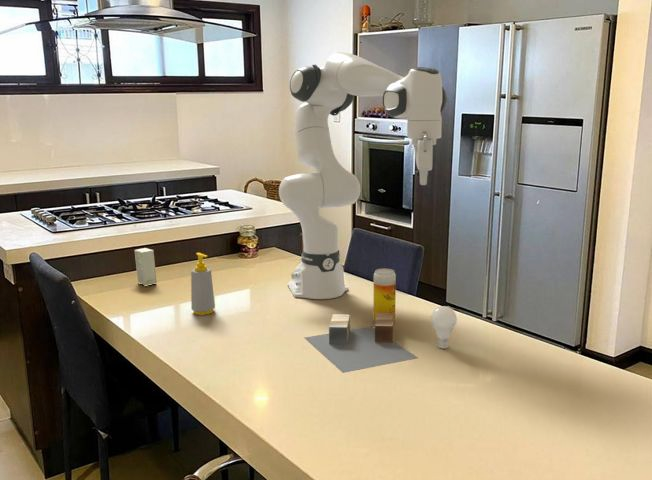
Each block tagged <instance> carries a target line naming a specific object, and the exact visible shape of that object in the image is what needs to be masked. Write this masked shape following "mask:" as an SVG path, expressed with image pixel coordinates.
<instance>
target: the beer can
mask: <svg viewBox="0 0 652 480" xmlns="http://www.w3.org/2000/svg"><path fill="white" fill-rule="evenodd" d="M396 277H397V274H396V272H395V270H394V269H391V268H378V269H375V270H374V273H373V303H372V304H373V307H372V308H373V313H372V314H373V315H372V316H373V317H372V319H373V322H375V321H376V313H393V323H395V321H396V299H397V298H396V295H397V294H396V293H397V292H396V291H397V287H396V286H397V285H396V283H397V281H396V280H397V278H396Z"/></svg>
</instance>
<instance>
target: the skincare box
mask: <svg viewBox="0 0 652 480" xmlns="http://www.w3.org/2000/svg"><path fill="white" fill-rule="evenodd" d="M154 252H155V251H154V249H150V248H147V247H144V248H143V247H142V248H138V249H134V256H135V257H134V258H135V259H134V260H135V266H136V267H135V269H136V278H137V283H138V282H140V283H142V284H144V285H148V284H153V283H157V271H156V263H155V261H156V260H155V253H154ZM157 284H158V283H157Z"/></svg>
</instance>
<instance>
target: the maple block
mask: <svg viewBox="0 0 652 480" xmlns="http://www.w3.org/2000/svg"><path fill="white" fill-rule="evenodd" d="M350 316H351V315H350V314H342V313H341V314H338V313H337V314H336V313H334V314H332V316H331V320H330V323H329V326H328V334H329V344H344V345H347V342H348V337H349V332H350V330H351V320H350V319H351V317H350Z"/></svg>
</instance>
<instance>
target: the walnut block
mask: <svg viewBox="0 0 652 480" xmlns="http://www.w3.org/2000/svg"><path fill="white" fill-rule="evenodd" d="M374 328H375V342H377V343H393V341H394V340H393V339H394V336H393V335H394V334H393V333H394V322H393V313H376V321H374Z"/></svg>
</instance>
